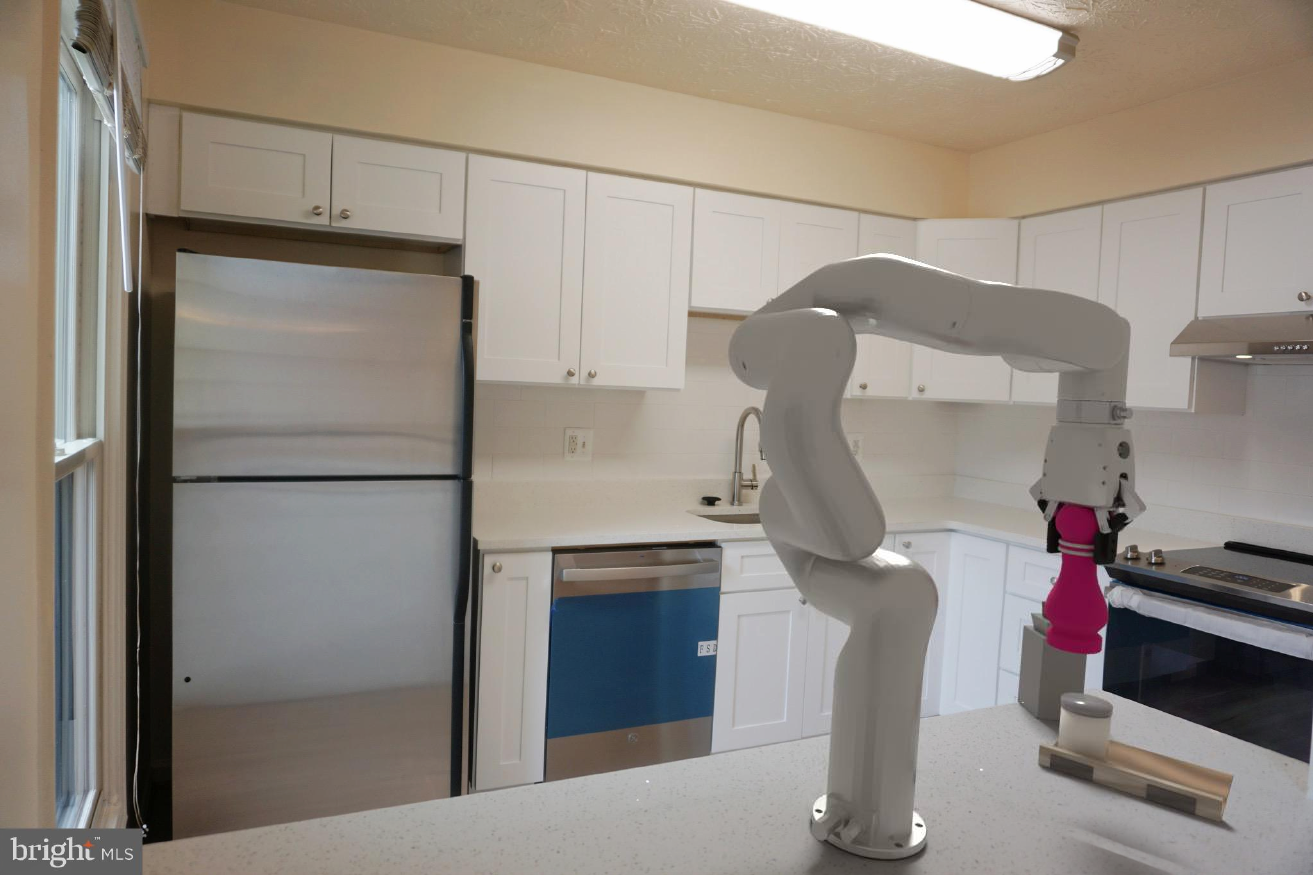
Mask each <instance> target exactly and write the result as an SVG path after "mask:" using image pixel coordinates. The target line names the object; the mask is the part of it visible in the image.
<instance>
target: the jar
mask: <svg viewBox="0 0 1313 875" xmlns="http://www.w3.org/2000/svg"><path fill="white" fill-rule="evenodd" d="M1113 709H1114V706H1113V704H1112V703H1111V702H1109V701H1108V700H1107V699H1104V698H1101V697H1098V696H1095V695H1092V694H1087V693H1084V694H1082V693H1065V694H1063V695H1062V696H1061V715H1060V720H1059V727H1058V739H1057V741H1058V748H1061V749H1064V750H1067V751H1070V752H1074V753H1077V754H1080V755H1084V756H1087V757H1090V758H1093V759H1097V760H1100V761H1103V762H1107V761H1108V750H1109V740H1110V736H1111V726H1112V725H1111V724H1112V716H1113V713H1114V712H1113V711H1114V710H1113Z"/></svg>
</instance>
